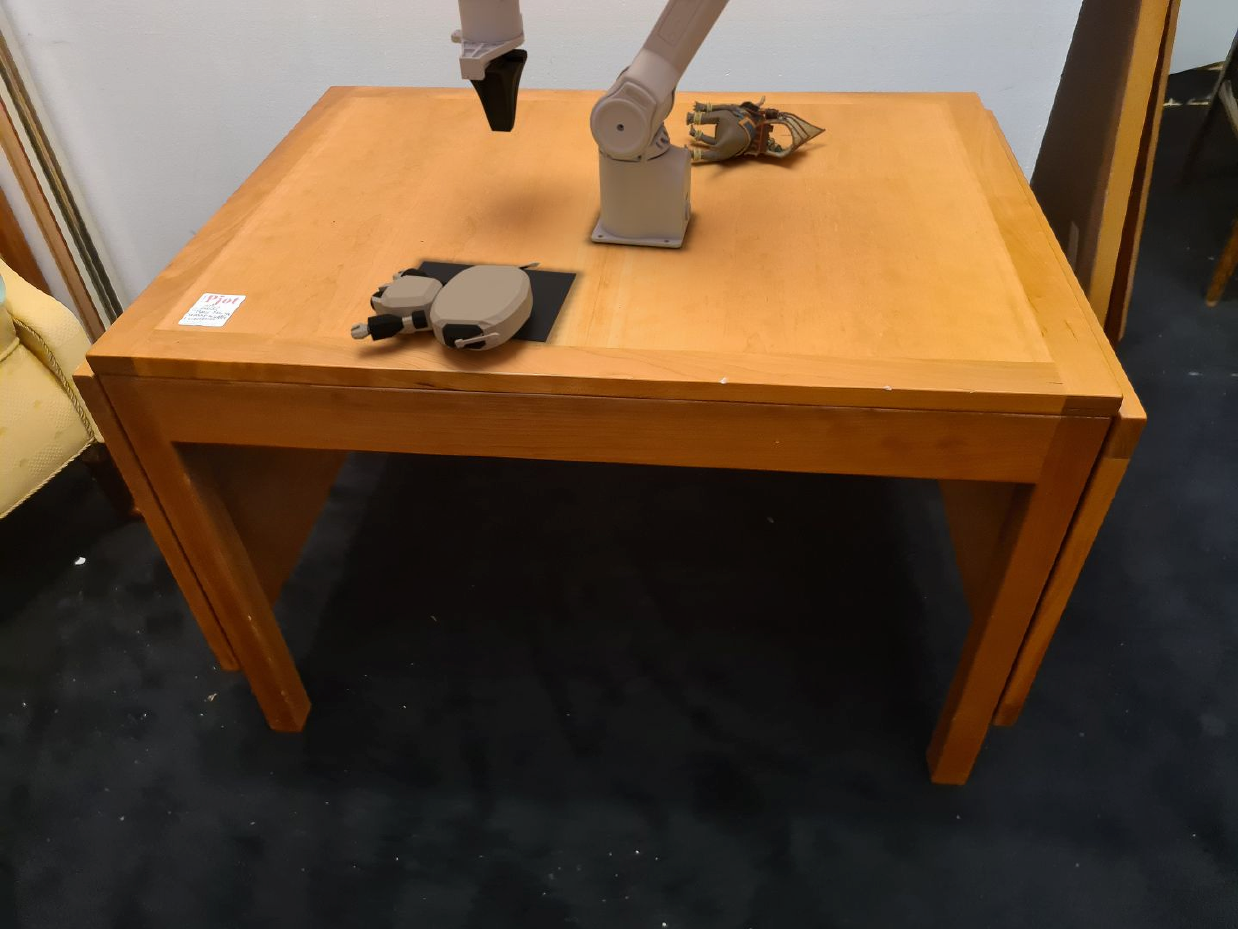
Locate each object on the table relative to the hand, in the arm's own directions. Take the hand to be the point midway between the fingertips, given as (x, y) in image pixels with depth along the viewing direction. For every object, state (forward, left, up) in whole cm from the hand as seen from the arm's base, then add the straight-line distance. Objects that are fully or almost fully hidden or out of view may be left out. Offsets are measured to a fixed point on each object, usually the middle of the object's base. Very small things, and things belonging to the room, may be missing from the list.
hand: (502, 129), depth 90 cm
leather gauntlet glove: (-25, -21, -10) cm, 34 cm away
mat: (-2, +18, -9) cm, 20 cm away
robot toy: (-1, +23, -10) cm, 25 cm away
